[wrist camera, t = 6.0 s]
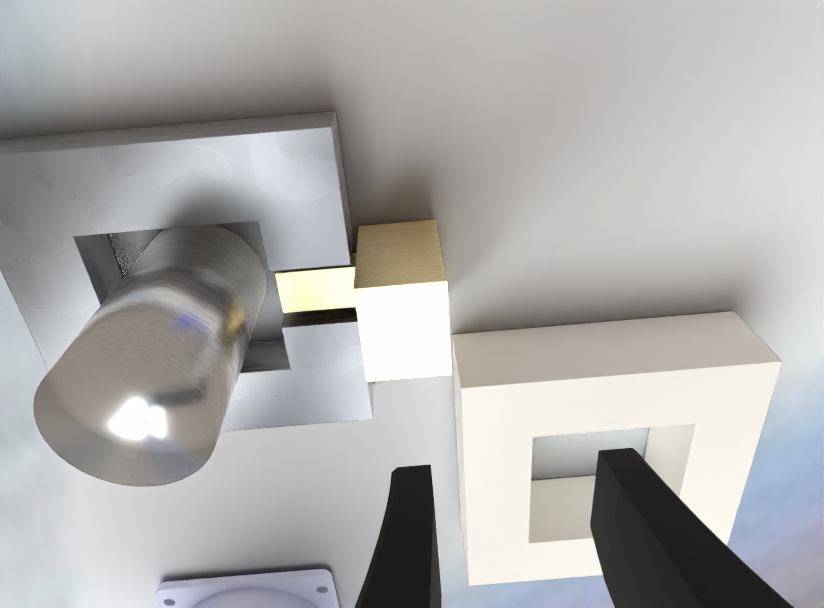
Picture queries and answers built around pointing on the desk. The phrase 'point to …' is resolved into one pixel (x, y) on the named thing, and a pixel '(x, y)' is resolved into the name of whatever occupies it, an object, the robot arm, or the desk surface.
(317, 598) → the robot arm
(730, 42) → the desk surface
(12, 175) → the socket block
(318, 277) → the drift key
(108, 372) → the metal cylinder
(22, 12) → the desk surface
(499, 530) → the white square block
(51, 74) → the desk surface
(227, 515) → the desk surface
